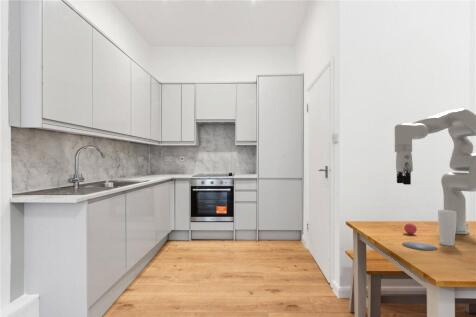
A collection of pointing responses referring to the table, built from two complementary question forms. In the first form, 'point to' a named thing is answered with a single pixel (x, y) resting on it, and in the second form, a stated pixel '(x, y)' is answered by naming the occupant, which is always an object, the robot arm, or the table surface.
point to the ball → (410, 228)
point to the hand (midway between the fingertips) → (403, 183)
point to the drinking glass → (447, 227)
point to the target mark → (419, 246)
